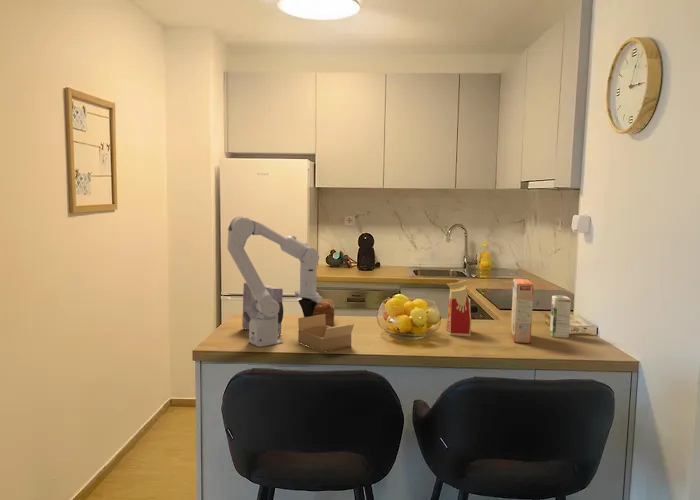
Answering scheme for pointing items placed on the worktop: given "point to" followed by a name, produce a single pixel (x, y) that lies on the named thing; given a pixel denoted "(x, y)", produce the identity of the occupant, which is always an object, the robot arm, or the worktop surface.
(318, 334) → the carton
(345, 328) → the near flap
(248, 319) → the cake pan box
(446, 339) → the worktop surface
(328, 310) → the bread
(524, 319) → the cracker box
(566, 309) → the syrup box
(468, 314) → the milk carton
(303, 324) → the far flap
